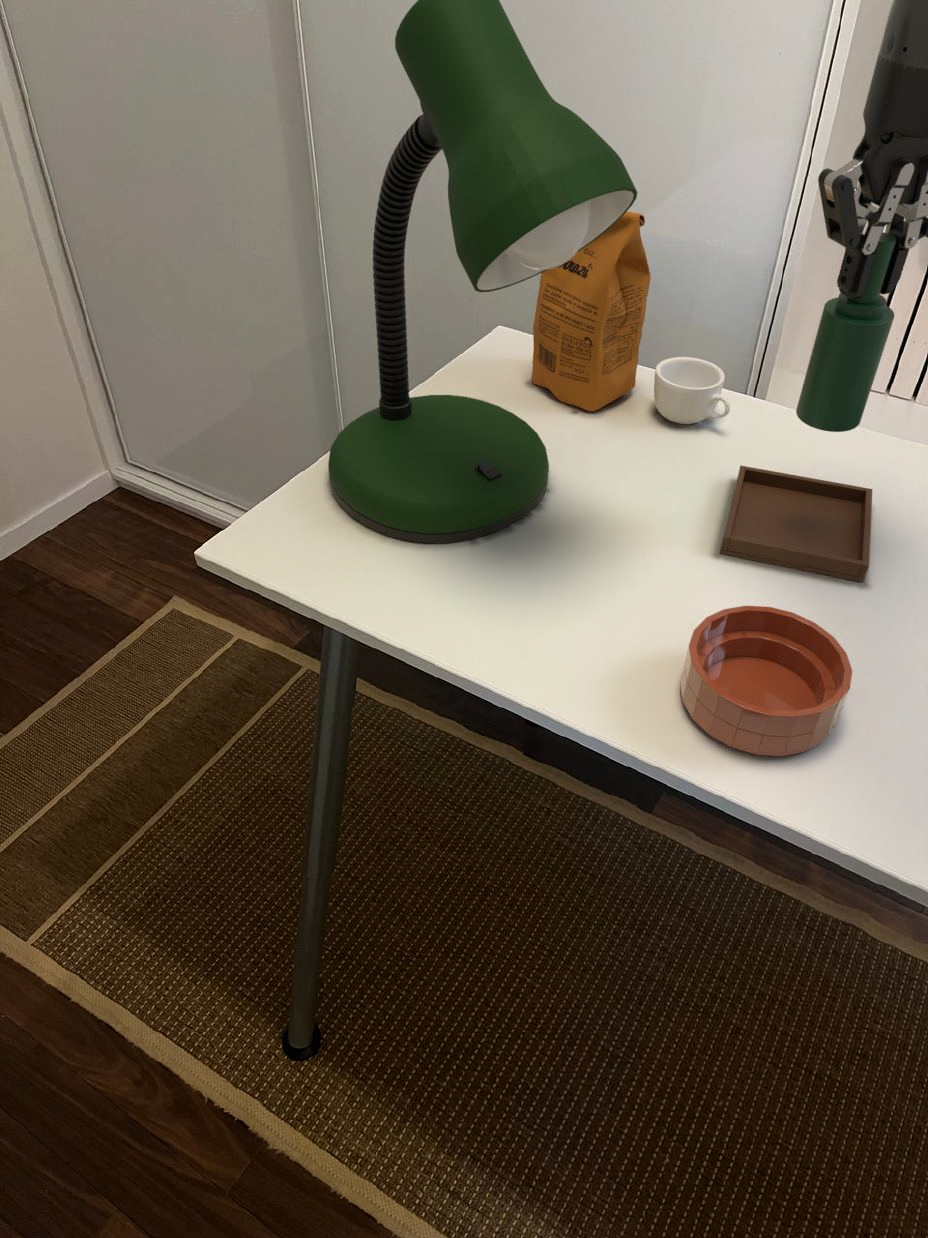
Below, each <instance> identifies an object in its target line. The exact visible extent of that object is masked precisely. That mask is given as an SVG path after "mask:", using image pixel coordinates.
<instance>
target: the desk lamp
mask: <svg viewBox="0 0 928 1238" xmlns="http://www.w3.org/2000/svg"><path fill="white" fill-rule="evenodd" d="M394 47H395V52H396V54H397V56H398V59H399V61H400V63H401V66H402V68H403V69H404V71H405V73H406V75H407V77H408V80H409V81H410V84H411V86H412V88H413V89H414V92H415V93H416V96H417V98H418V100H419V105H420V109H421V112H422V114H421V115H419V116H418V117H417V118H416V119H415V120H414V121H413V122H412V124H411V125H410V126H409V128H408V129H407V130H406V131H405V133H404V134H403V135H402V137H401V139H400V140H399V141H398V143H397V145H396V146H395V148H394V150H393V152H392V154H391V156H390V157H389V160H388V163H387V166H386V169H385V171H384V176H383V178H382V180H381V181H382V182H381V186H380V191H379V194H378V201H377V208H376V212H375V214H376V215H375V218H374V219H375V223H374V227H373V240H372V263H373V264H372V271H373V272H372V278H373V295H374V309H375V325H376V329H375V330H376V339H377V340H376V344H377V359H378V374H379V375H378V377H379V387H380V388H379V391H380V398H379V400H378V407H376V408H374V409H372V410H369V411H367V412H365V413H363V414H361V415H360V416H358V417H357V418H355V419H354V420H352V421H350V423H348V424H347V425H346V426H345V427H344V428H343V429H342V430H341V431H340V432H339V433H338V434H337V436H336V437H335V439H334V441H333V443H332V444H331V446H330V449H329V457H328V465H327V466H328V467H327V469H328V477H329V485H330V488H331V492H332V495H333V496H334V498H335V500H336V501H337V503H338V504H339V506H340V507H341V508H342V509H343V510H344V511H345V512H346V513H347V514H348V515H349V516H350V517H351V518H353V519H354V520H356V521H358V522H359V523H361V524H362V525H363V526H365V527H367V528H369V529H371V530H374V531H376V532H378V533H380V534H383V535H385V536H388V537H391V538H396V539H399V540H403V541H407V542H414V543H415V542H416V543H421V544H422V543H423V544H449V543H455V542H461V541H469V540H474V539H476V538H480V537H484V536H487V535H491V534H493V533H496V532H498V531H500V530H502V529H505V528H507V527H509V526H511V525H513V524H514V523H516V522H518V521H519V520H521V519H522V518H524V517H526V516H527V515H528V514H529V513H531V511H532V510H534V509H535V508H536V507H537V506H538V505H539V504H540V502H541V501H542V499H543V497H544V496H545V494H546V492H547V491H546V490H547V487H548V483H549V472H550V463H549V457H548V452H547V447H546V445H545V443H544V442H543V440H542V439H541V437H540V436H539V434H538V432H537V431H536V430H535V429H533V427H532V426H531V425H529V423H528V422H527V421H525V420H524V419H522V418H521V417H519V416H518V415H516V414H515V413H513V412H511V411H509V410H507V409H505V408H504V407H501V406H499V405H497V404H494V403H491V402H488V401H486V400H483V399H478V398H473V397H469V396H462V395H454V394H453V395H452V394H428V395H421V396H419V395H418V396H413V397H410V387H409V386H410V383H409V382H410V381H409V361H408V359H409V358H408V356H409V354H408V339H407V338H408V332H407V331H408V330H407V310H406V309H407V307H406V306H407V305H406V288H405V287H406V286H405V285H406V281H405V279H406V278H405V277H406V275H405V260H406V259H405V255H406V251H405V250H406V241H407V234H408V228H409V221H410V215H411V212H412V206H413V201H414V199H415V194H416V191H417V188H418V186H419V183H420V180H421V178H422V177H423V174H424V173H425V171H426V169H427V168H428V167H429V166H430V163H431V162H432V161H433V160H434V159H435V157H437V155H438V154H440V152H441V151H442V152H443V155H444V157H445V161H446V164H447V171H448V180H447V199H448V208H449V216H450V222H451V229H452V234H453V240H454V246H455V251H456V255H457V257H458V260H459V261H460V264H461V265H462V267H463V270H464V271H465V273H466V275H467V277H468V279H469V281H470V283H471V285H472V287H473V289H474V291H475V292H478V293H491V292H494V291H499V290H502V289H506V288H509V287H511V286H514V285H517V284H519V283H522V282H525V281H526V280H530V279H531V278H534V277H536V276H537V275H541V273H542V272H544V271H546V270H548V269H554V268H557V267H559V266H561V265H562V264H564V263H566V262H567V261H569V260H571V259H572V258H573V257H574V256H575V254H576V253H577V252H579V251H580V250H581V249H583V248H584V247H586V246H587V245H589V244H590V243H591V242H593V241H594V240H595V239H597V238H598V237H599V236H600V235H602V234H603V233H604V232H605V231H607V230H608V229H609V228H610V227H611V226H612V225H614V224H615V223H616V222H617V221H618V220H619V219H620V218H621V217H622V216H623V215H624V214H625V213H626V212H629V210H630V209H631V207H632V206H633V205H634V203H635V201H636V200H637V197H638V190H637V188H636V186H635V184H634V182H633V180H632V178H631V176H630V174H629V172H628V169H627V168H626V166H625V164H624V162H623V160H622V158H621V156H620V155H619V154H618V153H617V152H616V151H615V149H614V148H612V146H611V145H609V143H608V142H607V141H606V140H605V139H603V137H601V135H600V134H599V133H597V131H596V130H594V129H593V128H592V127H591V126H590V125H589V123H587V122H586V121H585V120H584V119H582V118H581V116H579V115H578V114H577V113H575V112H574V111H573V110H571V109H570V108H568V107H566V106H565V105H562V104H560V103H559V102H558V101H556V100H555V99H554V98H553V97H552V96H551V94H550V93H549V91H548V90H547V88H546V87H545V85H544V83H543V81H542V80H541V79H540V76H539V75H538V73H537V71H536V69H535V68H534V65H533V64H532V62H531V60H530V58H529V57H528V56H529V55H528V54H527V52H526V51H525V49H524V46H523V44H522V43H521V41H520V39H519V37H518V35H517V33H516V31H515V29H514V27H513V25H512V23H511V21H510V19H509V17H508V15H507V13H506V11H505V9H504V7H503V5H502V3H501V0H417V1H415V3H414V4H413V5H412V6H411V7H410V9H408V11H407V12H406V14H405V15H404V17H403V18H402V19H401V21H400V24H399V25H398V27H397V30H396V32H395V37H394Z"/></svg>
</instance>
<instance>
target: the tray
mask: <svg viewBox="0 0 928 1238" xmlns="http://www.w3.org/2000/svg"><path fill="white" fill-rule="evenodd" d="M872 504H873V488H868V487H862V486H857V485H851V484H846V483H841V482H835V481H829V480H826V479H825V480H823V479H819V478H812V477H808V476H801V475H798V474H790V473H785V472H780V471H774V470H768V469H763V468H757V467H751V466H747V465H740V466H739V470H738V474H737V478H736V482H735V487H734V491H733V495H732V500H731V503H730V507H729V508H730V509H729V512H728V517H727V520H726V525H725V529H724V533H723V538H722V541H721V545H720V546H721V547H720V551H719V554H721V555H726V556H732V557H736V558H741V559H746V560H751V561H756V562H761V563H765V564H769V565H770V564H771V565H775V566H781V567H785V568H791V569H795V570H801V571H804V572H810V573H815V574H820V575H825V576H829V577H835V578H839V579H845V580H849V581H854V582H860V583H864V581H865V578H866V575H867V573H868V570H869V567H870V552H871V550H870V549H871V530H872V527H871V526H872V509H873V508H872V506H873V505H872Z"/></svg>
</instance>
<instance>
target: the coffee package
mask: <svg viewBox="0 0 928 1238" xmlns="http://www.w3.org/2000/svg"><path fill="white" fill-rule="evenodd" d="M645 223H646V219H645V215H643V214H642V213H639V212H633V211H627V212H626V213H625V214H624V215H623V216H622V217H621V218H620V219H619V220H618V221H617V222H616V223H615V224H614V225H612V226H611V227H610V228H609V229H608V230H607V231H605V232H604V233H603V234H602V235H600V236H599V237H598V238H597V239H595V240H594V241H593V242H591V243H590V244H589V245H587V246H586V247H584V248H583V249H581V250H580V251H579V252H577V253H576V254H575V256H574V257H573V258H572V259H571V260H569V261H567V262H566V263H564V264H562V265H561V266H559V267H557V268H554V269H548V270H546V271H544V272H542V273H540V279H539V288H538V294H537V299H536V308H535V314H534V320H533V326H532V332H533V335H532V336H533V337H532V338H533V352H532V353H533V354H532V371H531V372H532V374H531V383H532V384H534V385H537V386H539V387H542V388H545V389H547V390H549V391H550V392H551V394H553V396H554V397H555V398H556V399H557V400H558V401H560V402H562V403H564V404H567V405H570V406H575V407H577V408H581V409H583V410H585V411H587V412H594V411H598V410H600V409H601V408H602V407H604V406H606V405H608V404H610V403H612V402H613V401H616V400H617V399H618V398H620V397H622V396H625V395H627V394H629V393H630V392H631V391H632V390H633V389H634V388H635V387H636V378H637V370H638V365H639V353H640V352H639V350H640V345H641V340H642V337H643V326H644V323H645V318H646V312H647V311H646V310H647V300H648V296H649V291H650V284H651V279H652V277H651V271H650V266H649V264H648V259H647V256H646V255H647V254H646V250H645V247H644V245H643V240H642V236H641V227H644V226H645Z"/></svg>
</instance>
